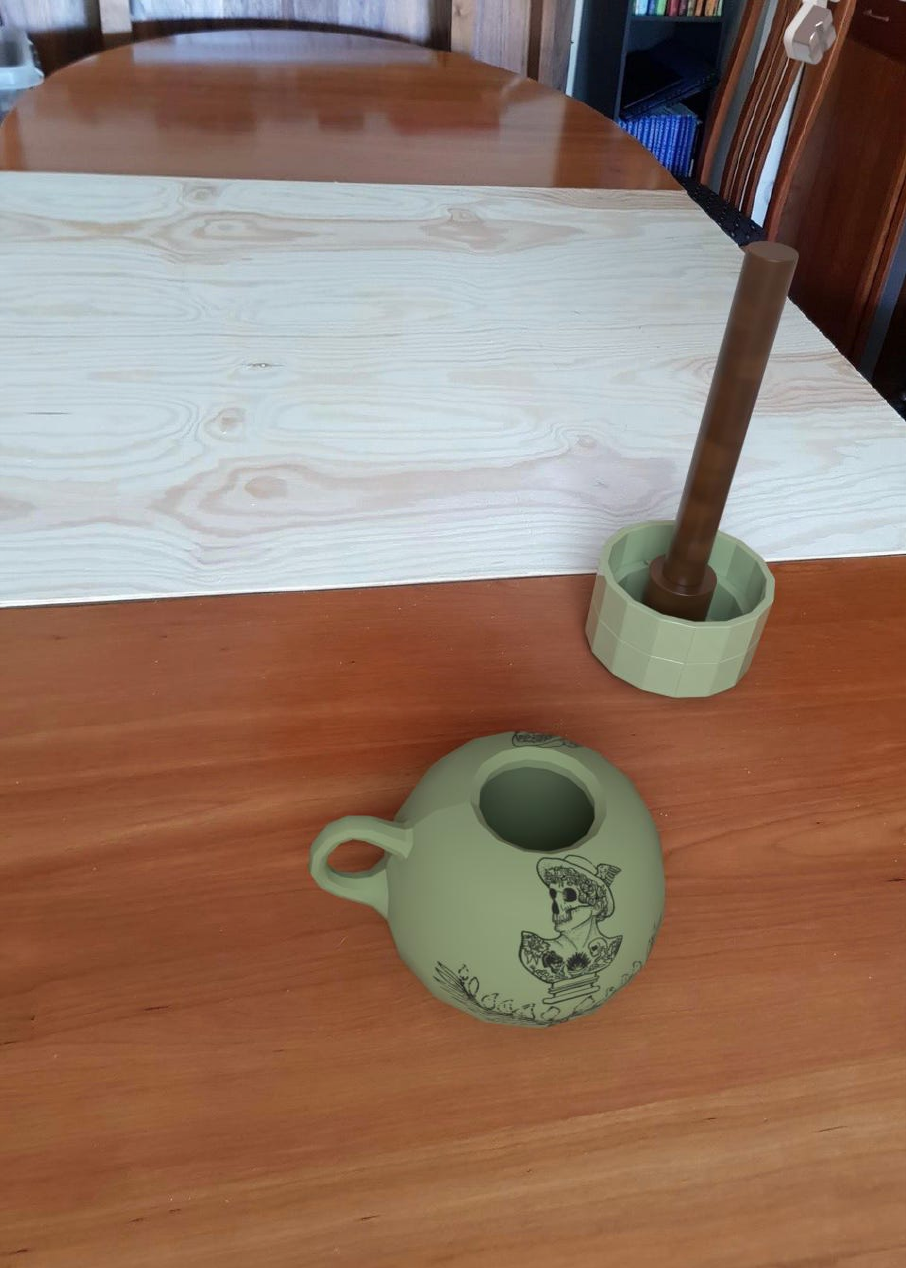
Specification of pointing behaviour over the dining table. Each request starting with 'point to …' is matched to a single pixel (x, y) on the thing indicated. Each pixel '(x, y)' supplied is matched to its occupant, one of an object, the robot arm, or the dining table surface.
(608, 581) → the bowl
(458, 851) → the mug
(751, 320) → the wooden pestle
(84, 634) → the dining table surface
